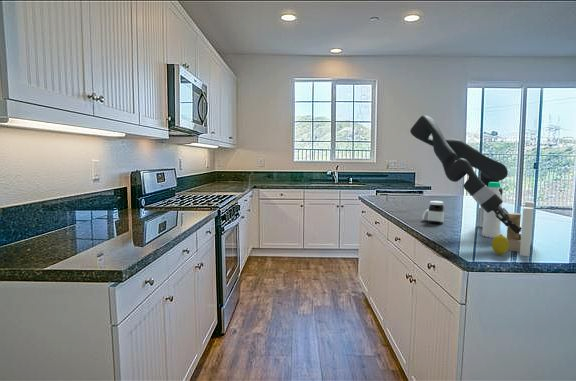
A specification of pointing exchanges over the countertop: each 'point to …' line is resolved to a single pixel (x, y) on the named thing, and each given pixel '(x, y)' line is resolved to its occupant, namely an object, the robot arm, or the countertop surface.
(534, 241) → the countertop surface
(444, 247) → the countertop surface
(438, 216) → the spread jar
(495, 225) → the water bottle
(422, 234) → the countertop surface
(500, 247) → the lemon
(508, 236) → the tan wooden block
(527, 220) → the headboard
